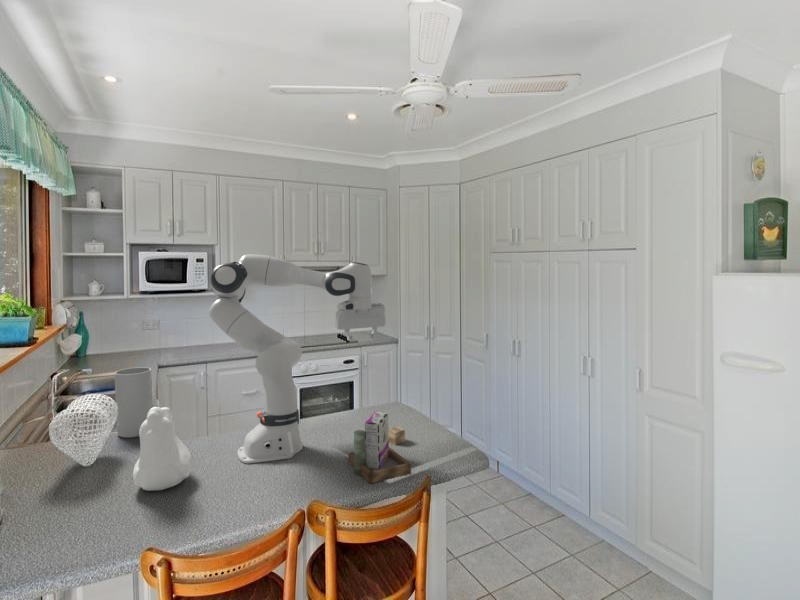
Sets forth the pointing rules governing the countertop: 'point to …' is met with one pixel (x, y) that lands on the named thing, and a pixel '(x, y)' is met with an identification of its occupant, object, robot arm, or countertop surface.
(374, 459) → the candy bar box
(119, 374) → the cylinder vase
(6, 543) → the countertop surface
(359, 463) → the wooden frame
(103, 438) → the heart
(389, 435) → the oak cube
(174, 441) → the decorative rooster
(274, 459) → the robot arm
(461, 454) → the countertop surface
